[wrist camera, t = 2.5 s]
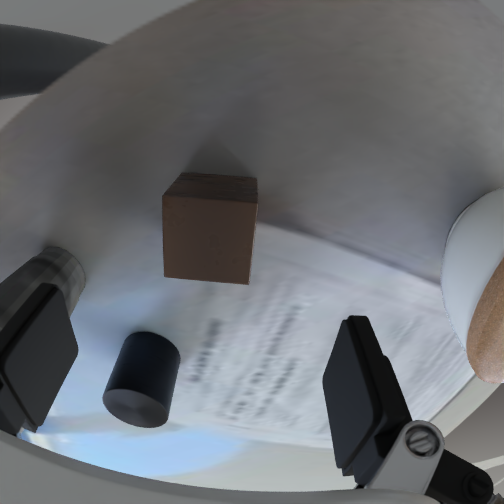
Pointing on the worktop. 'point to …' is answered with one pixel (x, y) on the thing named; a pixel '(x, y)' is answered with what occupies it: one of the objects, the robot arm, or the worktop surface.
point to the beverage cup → (36, 272)
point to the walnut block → (209, 227)
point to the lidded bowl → (477, 284)
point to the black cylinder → (143, 380)
